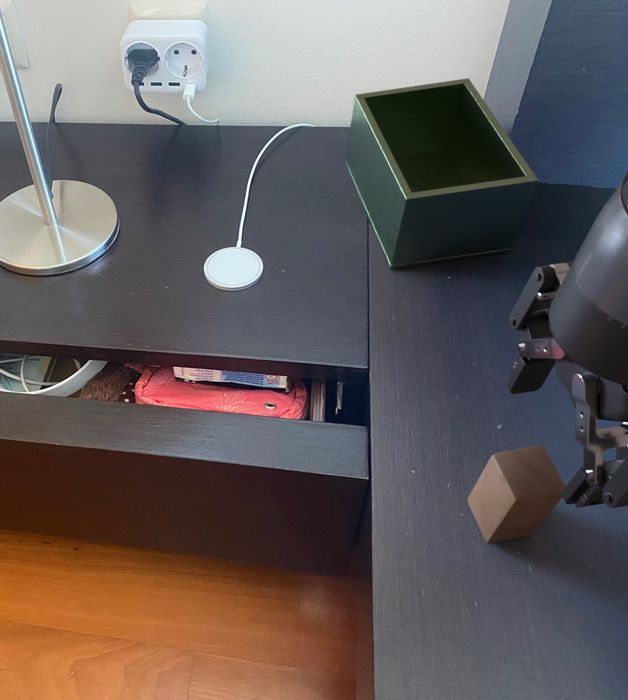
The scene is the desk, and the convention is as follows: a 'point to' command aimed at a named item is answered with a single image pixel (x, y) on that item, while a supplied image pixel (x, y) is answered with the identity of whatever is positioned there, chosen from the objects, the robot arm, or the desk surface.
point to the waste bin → (436, 174)
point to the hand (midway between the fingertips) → (548, 440)
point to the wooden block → (515, 494)
